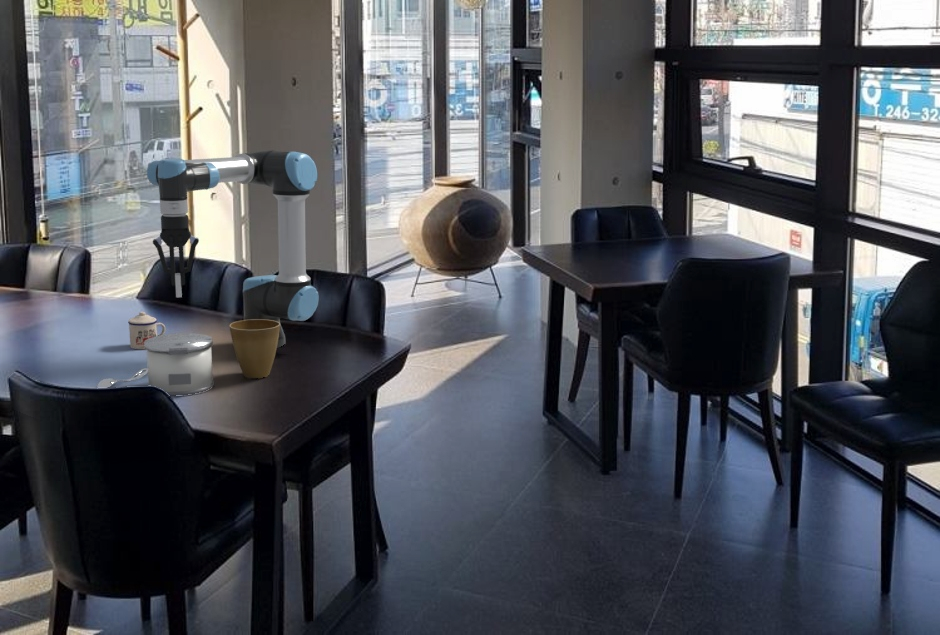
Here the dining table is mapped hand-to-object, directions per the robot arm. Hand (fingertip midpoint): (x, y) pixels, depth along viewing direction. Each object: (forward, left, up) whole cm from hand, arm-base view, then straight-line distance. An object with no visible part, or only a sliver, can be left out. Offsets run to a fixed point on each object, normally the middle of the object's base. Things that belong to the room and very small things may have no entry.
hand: (178, 296), depth 315 cm
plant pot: (-21, -6, -27) cm, 35 cm away
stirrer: (+17, -7, -27) cm, 33 cm away
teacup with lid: (+12, -48, -27) cm, 56 cm away
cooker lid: (+1, +3, -14) cm, 14 cm away
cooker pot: (+1, +2, -27) cm, 27 cm away
